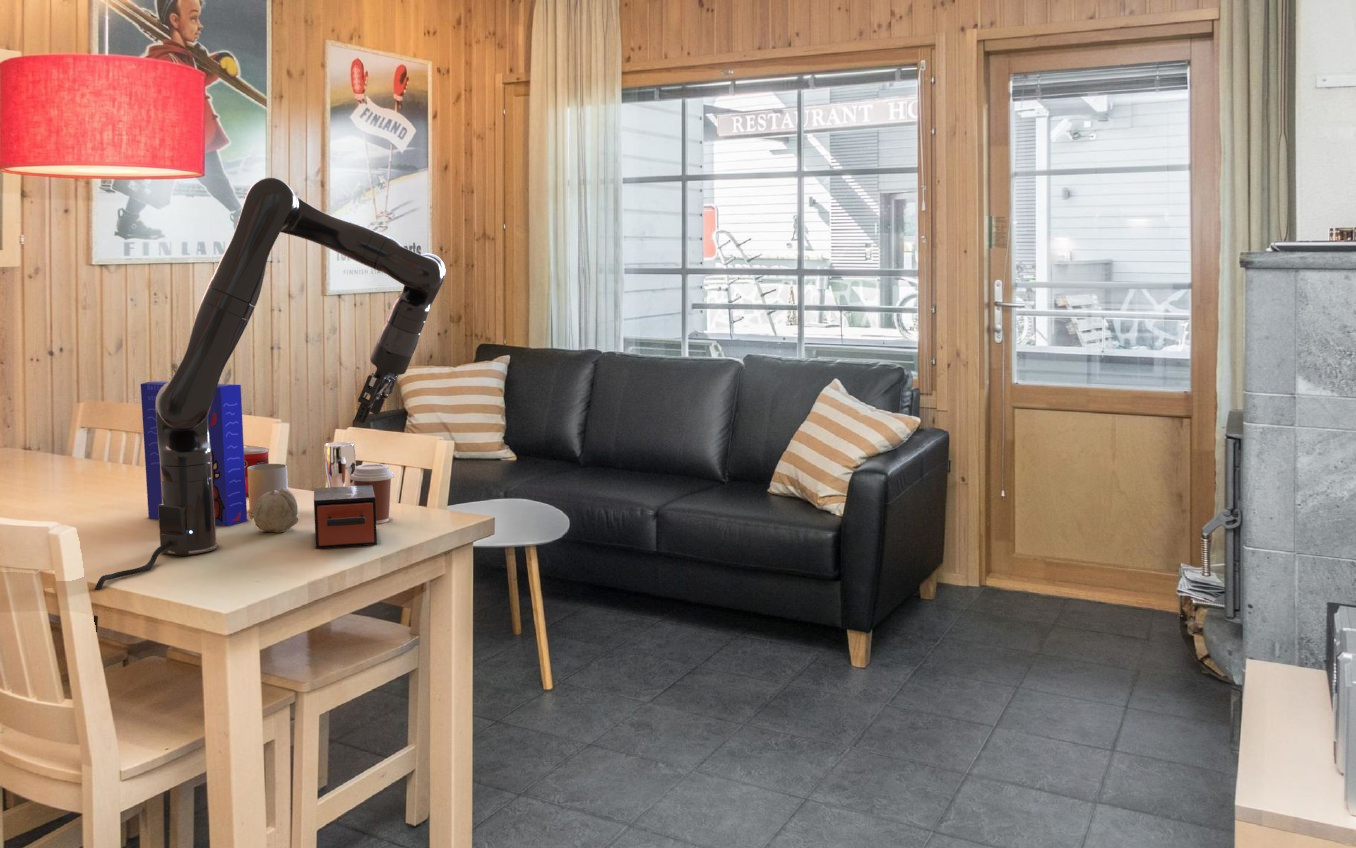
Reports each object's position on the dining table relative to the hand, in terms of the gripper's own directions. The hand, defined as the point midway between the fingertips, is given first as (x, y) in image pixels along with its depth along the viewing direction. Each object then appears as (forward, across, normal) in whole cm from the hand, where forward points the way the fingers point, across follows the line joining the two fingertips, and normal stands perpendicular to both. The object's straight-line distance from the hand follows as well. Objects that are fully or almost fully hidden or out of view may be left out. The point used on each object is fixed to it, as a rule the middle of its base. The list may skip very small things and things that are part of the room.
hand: (366, 417), depth 232 cm
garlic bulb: (+31, +2, -8) cm, 32 cm away
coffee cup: (+24, -9, +8) cm, 27 cm away
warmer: (+23, +8, +7) cm, 25 cm away
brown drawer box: (+21, +12, +8) cm, 26 cm away
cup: (+36, -18, -16) cm, 44 cm away
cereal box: (+41, -8, -27) cm, 50 cm away
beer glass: (+30, -21, -2) cm, 37 cm away
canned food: (+43, -37, -27) cm, 63 cm away
